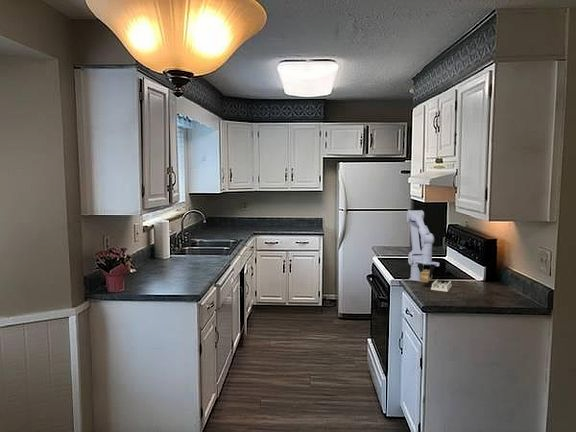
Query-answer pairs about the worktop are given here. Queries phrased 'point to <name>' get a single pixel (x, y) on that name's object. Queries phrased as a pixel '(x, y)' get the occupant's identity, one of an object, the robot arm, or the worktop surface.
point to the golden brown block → (425, 276)
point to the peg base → (441, 286)
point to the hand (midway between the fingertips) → (426, 276)
